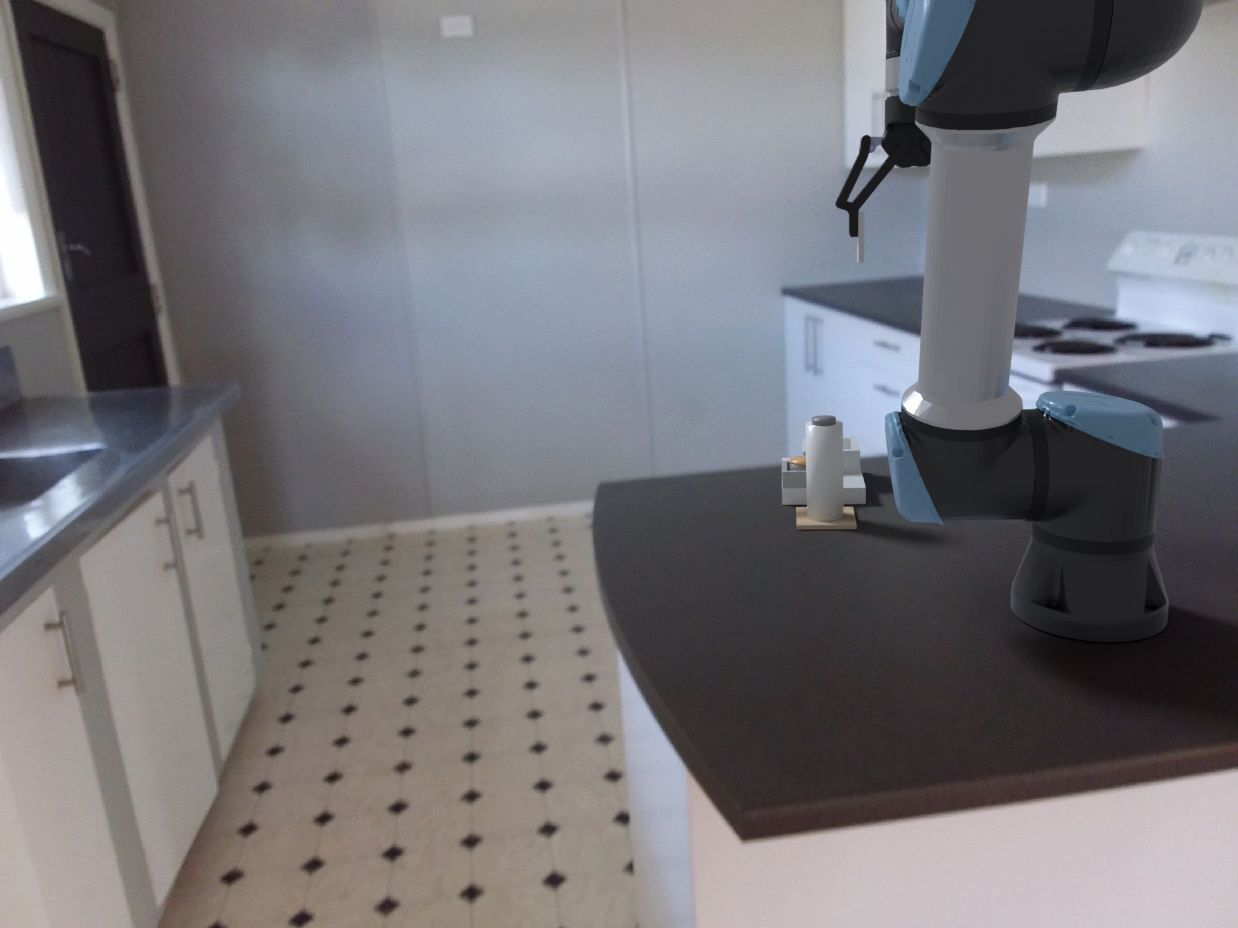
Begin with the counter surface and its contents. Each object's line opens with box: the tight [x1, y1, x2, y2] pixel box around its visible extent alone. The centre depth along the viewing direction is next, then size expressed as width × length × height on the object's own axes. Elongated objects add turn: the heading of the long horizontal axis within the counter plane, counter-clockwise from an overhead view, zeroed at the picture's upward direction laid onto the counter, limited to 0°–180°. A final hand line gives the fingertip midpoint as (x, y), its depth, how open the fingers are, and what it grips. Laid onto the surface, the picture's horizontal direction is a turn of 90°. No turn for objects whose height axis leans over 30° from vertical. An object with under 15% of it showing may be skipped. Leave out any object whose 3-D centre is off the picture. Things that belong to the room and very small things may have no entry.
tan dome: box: [789, 455, 806, 471], centre depth 150 cm, size 4×4×3 cm
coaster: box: [795, 506, 858, 531], centre depth 140 cm, size 8×8×1 cm
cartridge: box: [804, 414, 845, 521], centre depth 139 cm, size 5×5×14 cm
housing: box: [781, 436, 867, 506], centre depth 154 cm, size 17×12×6 cm
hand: (912, 259), depth 136 cm, fingers open, 13 cm apart
